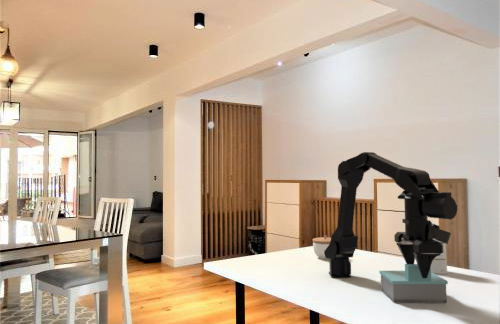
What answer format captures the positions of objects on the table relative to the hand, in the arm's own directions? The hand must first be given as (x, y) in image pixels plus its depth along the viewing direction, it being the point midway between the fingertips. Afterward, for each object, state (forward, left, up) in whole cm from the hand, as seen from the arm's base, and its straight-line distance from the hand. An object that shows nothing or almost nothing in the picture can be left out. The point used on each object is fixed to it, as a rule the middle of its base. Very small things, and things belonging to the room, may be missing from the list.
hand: (417, 273), depth 104 cm
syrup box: (+19, +32, -8) cm, 38 cm away
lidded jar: (-16, +57, -8) cm, 60 cm away
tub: (0, +4, -8) cm, 9 cm away
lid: (0, +4, -3) cm, 6 cm away
